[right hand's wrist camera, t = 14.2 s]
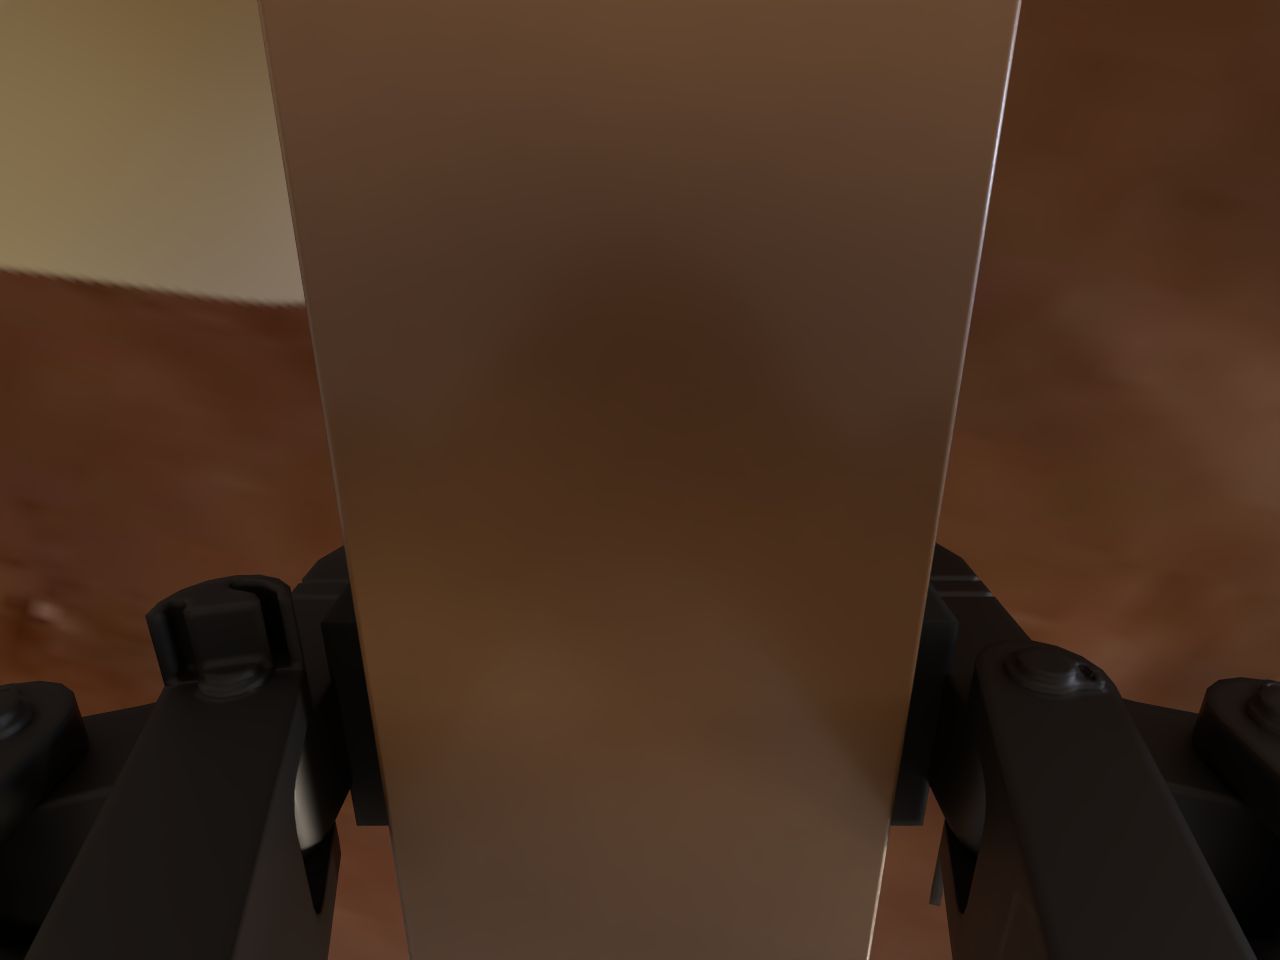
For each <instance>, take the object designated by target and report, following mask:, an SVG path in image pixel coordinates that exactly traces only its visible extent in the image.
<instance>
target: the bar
mask: <svg viewBox="0 0 1280 960" xmlns="http://www.w3.org/2000/svg"><path fill="white" fill-rule="evenodd" d="M1021 1H1022V0H257V2H258V8H259V14H260V21H261V27H262V33H263V40H264V46H265V52H266V58H267V64H268V71H269V77H270V84H271V90H272V96H273V102H274V108H275V115H276V121H277V127H278V134H279V140H280V146H281V152H282V159H283V165H284V171H285V178H286V184H287V190H288V196H289V203H290V209H291V215H292V221H293V228H294V234H295V240H296V246H297V253H298V259H299V265H300V271H301V278H302V284H303V290H304V297H305V303H306V309H307V315H308V322H309V328H310V334H311V340H312V347H313V353H314V359H315V366H316V372H317V378H318V384H319V391H320V397H321V403H322V409H323V416H324V422H325V428H326V434H327V441H328V447H329V453H330V460H331V466H332V472H333V478H334V485H335V491H336V497H337V503H338V510H339V516H340V522H341V529H342V535H343V541H344V547H345V554H346V560H347V566H348V572H349V579H350V585H351V591H352V597H353V604H354V610H355V616H356V623H357V629H358V635H359V641H360V648H361V654H362V660H363V666H364V673H365V679H366V685H367V691H368V698H369V704H370V710H371V717H372V723H373V729H374V735H375V742H376V748H377V754H378V760H379V767H380V773H381V779H382V785H383V792H384V798H385V804H386V811H387V817H388V823H389V829H390V836H391V842H392V848H393V854H394V861H395V867H396V873H397V879H398V886H399V892H400V898H401V905H402V911H403V917H404V923H405V930H406V936H407V942H408V948H409V955H410V960H869V957H870V951H871V944H872V938H873V932H874V925H875V919H876V913H877V907H878V900H879V894H880V888H881V881H882V875H883V869H884V863H885V856H886V850H887V844H888V837H889V831H890V825H891V819H892V812H893V806H894V800H895V793H896V787H897V781H898V775H899V768H900V762H901V756H902V749H903V743H904V737H905V731H906V724H907V718H908V712H909V705H910V699H911V693H912V687H913V680H914V674H915V668H916V661H917V655H918V649H919V643H920V636H921V630H922V624H923V617H924V611H925V605H926V599H927V592H928V586H929V580H930V573H931V567H932V561H933V555H934V548H935V542H936V536H937V529H938V523H939V517H940V511H941V504H942V498H943V492H944V485H945V479H946V473H947V467H948V460H949V454H950V448H951V441H952V435H953V429H954V423H955V416H956V410H957V404H958V397H959V391H960V385H961V379H962V372H963V366H964V360H965V353H966V347H967V341H968V335H969V328H970V322H971V316H972V309H973V303H974V297H975V291H976V284H977V278H978V272H979V265H980V259H981V253H982V247H983V240H984V234H985V228H986V221H987V215H988V209H989V203H990V196H991V190H992V184H993V177H994V171H995V165H996V159H997V152H998V146H999V140H1000V133H1001V127H1002V121H1003V115H1004V108H1005V102H1006V96H1007V89H1008V83H1009V77H1010V71H1011V64H1012V58H1013V52H1014V45H1015V39H1016V33H1017V27H1018V20H1019V14H1020V8H1021Z"/></svg>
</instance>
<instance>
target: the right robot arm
mask: <svg viewBox="0 0 1280 960" xmlns="http://www.w3.org/2000/svg"><path fill="white" fill-rule="evenodd" d="M145 617H146V620H147V624H148V627H149V631H150V634H151V638H152V642H153V645H154V649H155V652H156V656H157V660H158V663H159V667H160V670H161V674H162V678H163V681H164V685H165V687H164V689H163V691H162V693H161V695H160V697H159V698H158V700H157V702H155V703H151V704H147V705H143V706H138V707H133V708H127V709H122V710H117V711H112V712H107V713H101V714H96V715H91V716H86V717H81V714H80V711H79V708H78V705H77V702H76V699H75V696H74V693H73V692H72V691H71V690H70V689H68V688H67V687H66V686H64V685H63V684H60V683H53V682H45V681H35V682H26V683H17V684H15V683H13V684H7V685H2V686H0V960H328V952H329V944H330V936H331V928H332V921H333V913H334V905H335V897H336V889H337V881H338V873H339V866H340V858H341V850H340V844H339V837H338V832H337V827H336V821H335V819H336V817H337V815H338V813H339V811H340V809H341V807H342V805H343V803H344V800H345V798H346V796H347V794H348V792H349V790H351V796H352V801H353V807H354V812H355V818H356V823H357V826H389V823H388V817H387V811H386V804H385V798H384V792H383V785H382V779H381V773H380V767H379V760H378V754H377V748H376V742H375V735H374V729H373V723H372V717H371V710H370V704H369V698H368V691H367V685H366V679H365V673H364V666H363V660H362V654H361V648H360V641H359V635H358V629H357V623H356V616H355V610H354V604H353V597H352V591H351V585H350V579H349V572H348V566H347V560H346V554H345V547H344V546H342V547H340V548H339V549H337V550H335V551H333V552H332V553H330V554H328V555H327V556H325V557H323V558H322V559H320V560H318V561H317V563H316V564H315V565H314V566H313V567H312V568H311V570H310V571H309V572H308V573H307V574H306V576H305V577H304V578H303V579H302V583H299V584H298V585H297V586H296V588H295V589H294V590H293V591H292V592H291V589H290V586H288V585H287V584H286V583H284V582H283V581H281V580H280V579H278V578H273V577H268V576H263V575H235V576H230V577H224V578H219V579H214V580H208V581H205V582H202V583H199V584H197V585H194V586H191V587H188V588H185V589H182V590H180V591H178V592H176V593H175V594H173V595H171V596H169V597H167V598H166V599H164V600H162V601H160V602H159V603H158V604H157V605H156V606H155V607H154V608H153V609H152V610H151V611H150V612H149V613H148V614H147V615H146V616H145ZM929 787H931V789H932V791H933V793H934V796H935V798H936V800H937V802H938V804H939V806H940V808H941V810H942V812H943V814H944V816H945V821H944V827H943V832H942V837H941V842H940V847H939V852H938V858H937V863H936V868H935V873H934V878H933V883H932V889H931V896H930V903H929V904H933V905H938V906H940V903H941V898H942V893H943V889H944V895H945V903H946V911H947V919H948V926H949V934H950V942H951V950H952V958H953V960H1280V682H1277V681H1273V680H1261V679H1252V678H1243V677H1238V678H1230V679H1223V680H1218V681H1217V682H1215V683H1214V684H1213V685H1211V686H1210V687H1209V688H1207V690H1206V693H1205V696H1204V699H1203V702H1202V705H1201V708H1200V711H1199V714H1197V713H1192V712H1187V711H1181V710H1176V709H1171V708H1166V707H1160V706H1155V705H1150V704H1145V703H1139V702H1135V701H1131V700H1127V699H1123V698H1122V697H1121V695H1120V693H1119V691H1118V689H1117V687H1116V685H1115V684H1114V683H1113V682H1112V681H1111V679H1110V678H1109V677H1108V676H1107V675H1106V673H1105V672H1104V671H1103V670H1102V669H1100V668H1099V667H1097V666H1096V665H1094V664H1093V663H1091V662H1090V661H1088V660H1087V659H1085V658H1084V657H1082V656H1080V655H1077V654H1075V653H1073V652H1070V651H1068V650H1065V649H1063V648H1060V647H1058V646H1054V645H1050V644H1045V643H1041V642H1036V641H1032V640H1031V639H1030V638H1029V637H1028V636H1027V634H1026V633H1025V632H1024V631H1023V630H1022V629H1021V627H1020V626H1019V625H1018V624H1017V623H1016V621H1015V620H1014V619H1013V618H1012V617H1011V616H1010V614H1009V613H1008V612H1007V611H1006V610H1005V608H1004V607H1003V606H1002V605H1001V604H1000V603H999V601H998V600H997V599H996V598H995V597H991V592H990V591H989V590H988V588H987V587H986V586H985V585H984V584H983V582H982V581H978V577H977V575H976V574H975V573H974V572H973V571H972V569H971V568H970V567H969V566H968V565H967V564H966V562H965V561H964V560H963V559H962V558H961V557H959V556H958V555H956V554H954V553H953V552H951V551H949V550H947V549H946V548H944V547H942V546H941V545H939V544H937V543H935V548H934V555H933V561H932V567H931V573H930V580H929V586H928V592H927V599H926V605H925V611H924V617H923V624H922V630H921V636H920V643H919V649H918V655H917V661H916V668H915V674H914V680H913V687H912V693H911V699H910V705H909V712H908V718H907V724H906V731H905V737H904V743H903V749H902V756H901V762H900V768H899V775H898V781H897V787H896V793H895V800H894V806H893V812H892V819H891V825H890V826H923V820H924V815H925V809H926V804H927V798H928V793H929Z"/></svg>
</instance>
